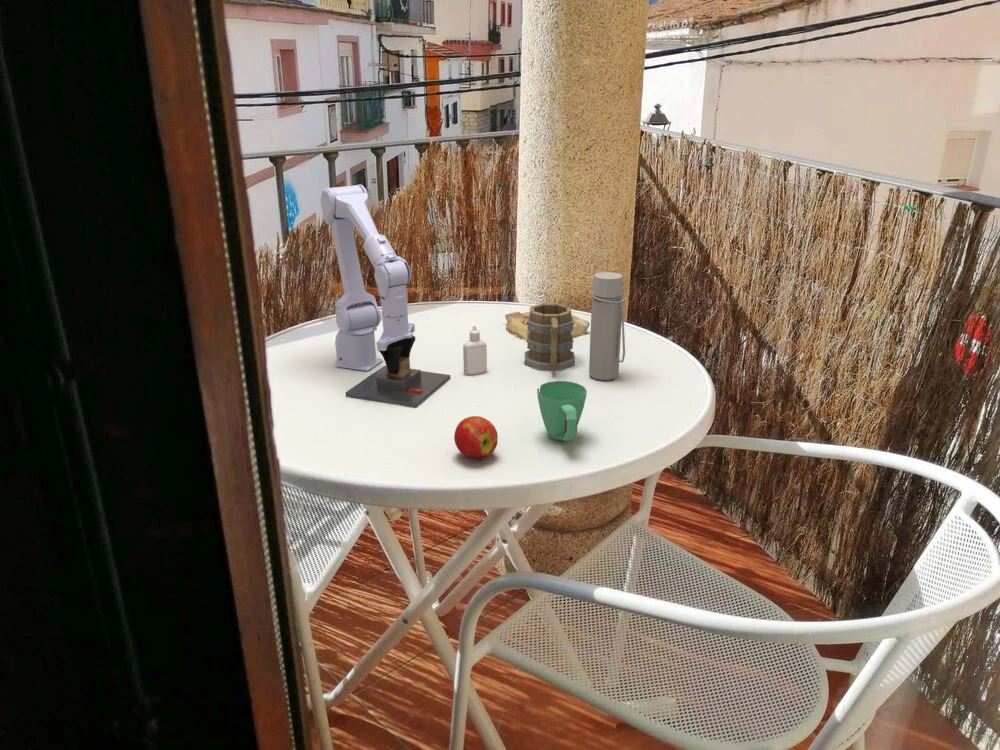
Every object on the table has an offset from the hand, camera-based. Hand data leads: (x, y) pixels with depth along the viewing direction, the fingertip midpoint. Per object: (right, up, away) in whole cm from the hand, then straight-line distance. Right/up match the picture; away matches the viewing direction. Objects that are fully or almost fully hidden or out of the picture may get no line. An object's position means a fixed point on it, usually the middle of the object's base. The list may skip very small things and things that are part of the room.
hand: (398, 369), depth 177 cm
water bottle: (+49, -2, +7) cm, 50 cm away
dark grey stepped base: (0, -4, +2) cm, 4 cm away
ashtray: (+37, +11, +41) cm, 57 cm away
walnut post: (0, -3, +1) cm, 3 cm away
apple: (+19, -17, -30) cm, 39 cm away
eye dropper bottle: (+18, -1, +10) cm, 20 cm away
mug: (+36, -15, -24) cm, 46 cm away
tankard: (+36, +1, +14) cm, 39 cm away
